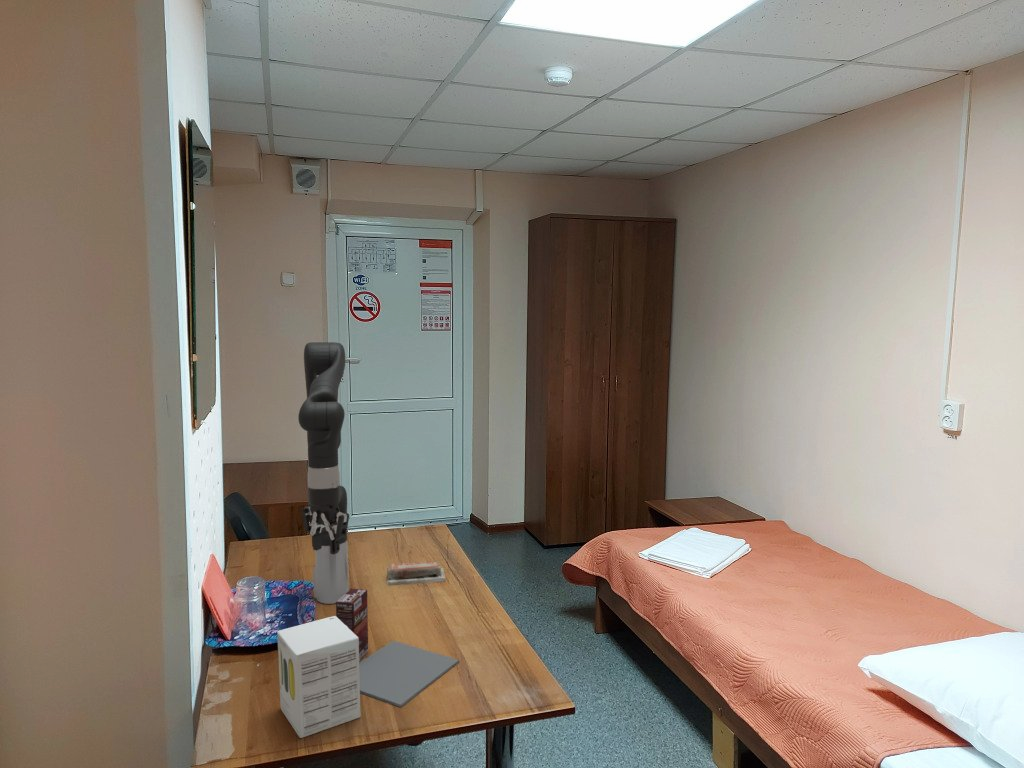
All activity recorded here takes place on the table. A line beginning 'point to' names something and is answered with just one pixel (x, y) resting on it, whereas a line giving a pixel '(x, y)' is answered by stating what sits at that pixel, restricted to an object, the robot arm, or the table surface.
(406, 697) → the mat
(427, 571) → the packaged product
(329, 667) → the supplement box
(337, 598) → the robot arm
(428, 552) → the table surface
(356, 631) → the supplement box
